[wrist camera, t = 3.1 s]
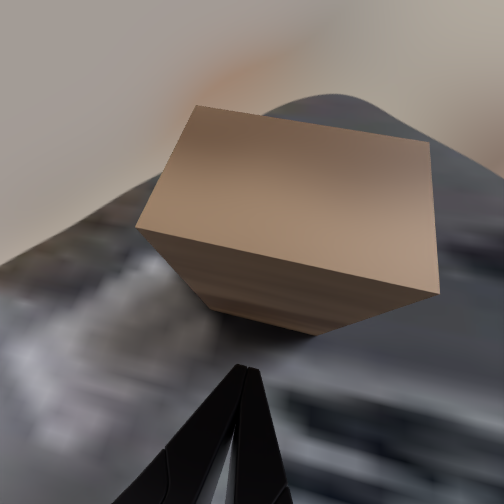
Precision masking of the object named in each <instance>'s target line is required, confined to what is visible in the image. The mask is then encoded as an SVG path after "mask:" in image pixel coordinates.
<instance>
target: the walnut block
mask: <svg viewBox="0 0 504 504" xmlns="http://www.w3.org/2000/svg"><path fill="white" fill-rule="evenodd" d="M135 228H136V229H137V230H138V231H139V232H140V233H141V234H142V235H143V236H144V237H145V238H146V240H147V241H148V242H149V243H150V244H151V245H152V246H153V247H154V248H155V249H156V251H157V252H158V253H159V254H160V255H161V256H162V257H163V258H164V259H165V260H166V261H167V263H168V264H169V265H170V266H171V267H172V268H173V269H174V270H175V271H176V272H177V273H178V275H179V276H180V277H181V278H182V279H183V280H184V281H185V282H186V283H187V284H188V285H189V287H190V288H191V289H192V290H193V291H194V292H195V293H196V294H197V295H198V296H199V298H200V299H201V300H202V301H203V302H204V303H205V304H206V305H207V306H208V307H209V308H210V310H214V311H218V312H222V313H226V314H230V315H234V316H238V317H242V318H246V319H250V320H254V321H258V322H262V323H266V324H270V325H274V326H279V327H283V328H287V329H291V330H295V331H299V332H303V333H307V334H311V335H315V336H317V335H320V334H323V333H326V332H329V331H332V330H335V329H338V328H341V327H344V326H347V325H350V324H353V323H356V322H359V321H362V320H365V319H368V318H371V317H374V316H376V315H379V314H382V313H385V312H388V311H391V310H394V309H397V308H400V307H403V306H406V305H409V304H412V303H415V302H418V301H421V300H424V299H427V298H430V297H433V296H436V295H439V294H440V288H439V274H438V260H437V246H436V232H435V218H434V204H433V190H432V176H431V162H430V148H429V142H423V141H417V140H411V139H404V138H398V137H392V136H386V135H379V134H373V133H367V132H361V131H354V130H348V129H342V128H336V127H329V126H323V125H317V124H310V123H304V122H298V121H292V120H285V119H279V118H273V117H267V116H260V115H254V114H248V113H242V112H235V111H229V110H222V109H216V108H210V107H204V106H198V105H196V106H195V108H194V110H193V112H192V114H191V116H190V118H189V120H188V122H187V124H186V126H185V128H184V130H183V132H182V134H181V136H180V138H179V140H178V143H177V144H176V146H175V148H174V150H173V152H172V154H171V156H170V158H169V160H168V162H167V164H166V166H165V168H164V170H163V172H162V174H161V176H160V178H159V180H158V182H157V184H156V186H155V188H154V190H153V192H152V194H151V196H150V198H149V200H148V202H147V204H146V206H145V208H144V210H143V212H142V214H141V216H140V218H139V220H138V222H137V224H136V226H135Z"/></svg>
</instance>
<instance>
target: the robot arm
mask: <svg viewBox="0 0 504 504" xmlns="http://www.w3.org/2000/svg"><path fill="white" fill-rule="evenodd" d="M235 424H236V425H235ZM234 429H235V430H234ZM233 433H234V435H233ZM232 437H233V441H232ZM231 441H232V448H231V457H230V465H229V474H228V483H227V492H226V500H225V504H293V501H292V497H291V493H290V489H289V487H288V486H287V485H288V482H287V478H286V474H285V470H284V466H283V462H282V458H281V454H280V450H279V446H278V442H277V438H276V434H275V430H274V426H273V422H272V418H271V414H270V410H269V406H268V402H267V398H266V393H265V389H264V385H263V381H262V377H261V373H260V371H259V369H255V368H252V367H248V369H247V366H244V365H240V364H236V365H235V366H234V367H233V368H232V369H231V370H230V372H229V373H228V374H227V375H226V376H225V377H224V379H223V380H222V381H221V382H220V383H219V384H218V385H217V387H216V388H215V389H214V390H213V391H212V392H211V394H210V395H209V396H208V397H207V398H206V399H205V401H204V402H203V403H202V404H201V405H200V406H199V408H198V409H197V410H196V411H195V412H194V413H193V414H192V416H191V417H190V418H189V419H188V420H187V421H186V423H185V424H184V425H183V426H182V427H181V428H180V430H179V431H178V432H177V433H176V434H175V435H174V436H173V438H172V439H171V440H170V441H169V442H168V443H167V445H166V446H165V449H162V450H161V451H160V453H159V454H158V455H157V456H156V457H155V458H154V459H153V461H152V462H151V463H150V464H149V465H148V466H147V467H146V468H145V469H144V471H143V472H142V473H141V474H140V475H139V476H138V477H137V478H136V479H135V480H134V481H133V482H132V484H131V485H130V486H129V487H128V488H127V489H126V490H125V491H124V492H123V493H122V494H121V495H120V496H119V497H118V498H117V499H116V500H115V501H114V502H113V503H112V504H211V501H212V498H213V495H214V492H215V489H216V486H217V483H218V480H219V477H220V474H221V471H222V468H223V465H224V462H225V459H226V456H227V453H228V450H229V447H230V444H231Z"/></svg>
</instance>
